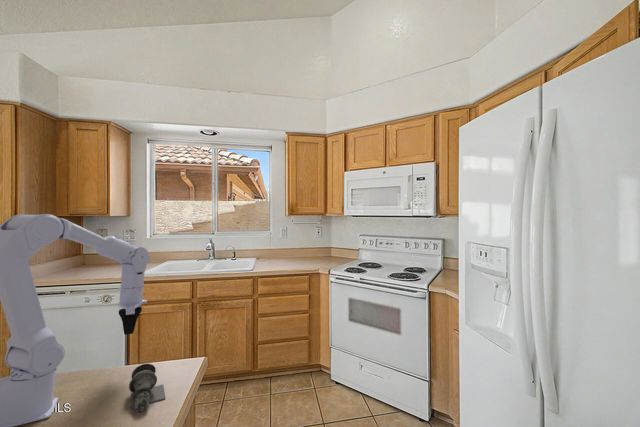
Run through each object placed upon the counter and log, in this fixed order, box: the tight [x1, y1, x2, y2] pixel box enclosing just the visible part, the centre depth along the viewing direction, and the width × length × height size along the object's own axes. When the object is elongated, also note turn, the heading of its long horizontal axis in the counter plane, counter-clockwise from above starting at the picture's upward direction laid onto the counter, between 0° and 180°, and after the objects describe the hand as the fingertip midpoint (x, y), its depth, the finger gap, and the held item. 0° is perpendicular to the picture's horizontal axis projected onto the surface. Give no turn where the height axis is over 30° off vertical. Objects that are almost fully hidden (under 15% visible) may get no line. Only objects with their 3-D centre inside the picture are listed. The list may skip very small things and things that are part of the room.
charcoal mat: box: [130, 384, 166, 409], centre depth 68 cm, size 7×7×1 cm
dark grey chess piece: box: [128, 363, 158, 412], centre depth 66 cm, size 6×6×12 cm
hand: (128, 333), depth 81 cm, fingers closed
